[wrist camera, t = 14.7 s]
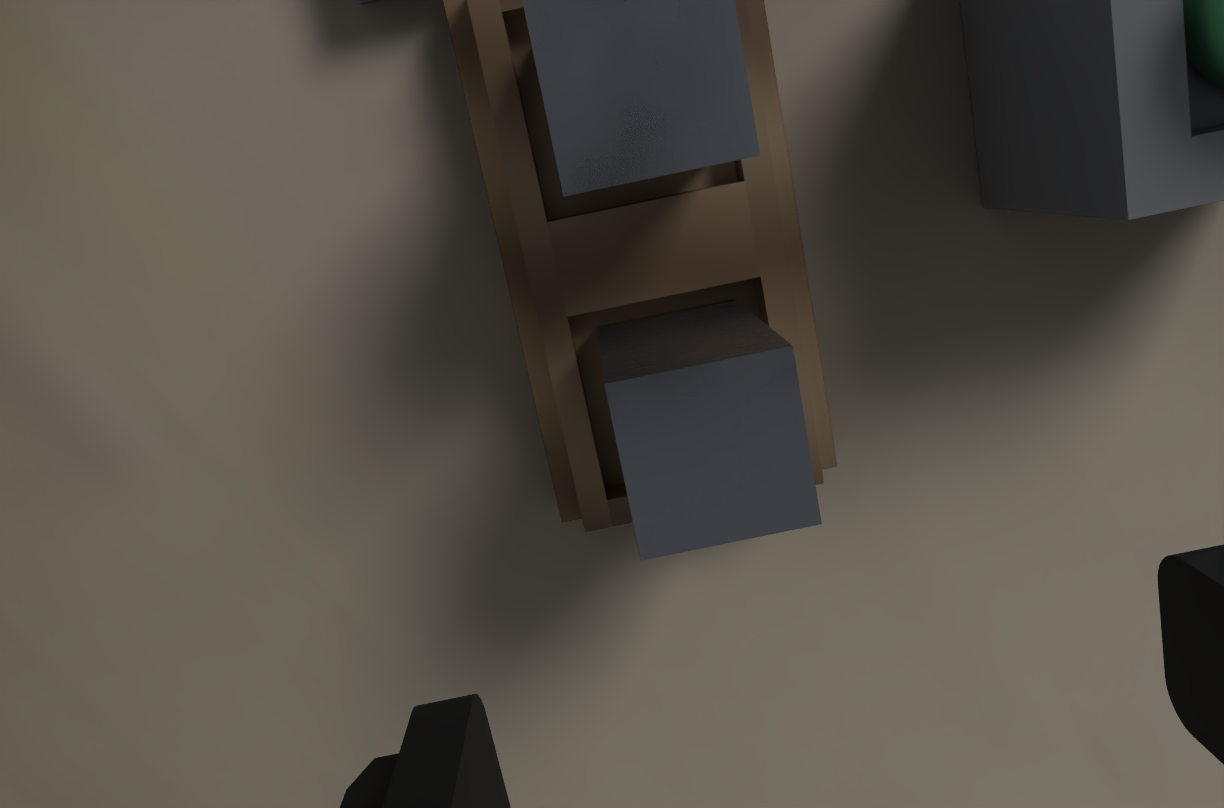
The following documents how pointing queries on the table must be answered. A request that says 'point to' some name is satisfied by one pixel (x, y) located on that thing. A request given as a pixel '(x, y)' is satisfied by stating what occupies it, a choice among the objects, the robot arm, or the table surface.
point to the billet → (707, 427)
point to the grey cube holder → (1091, 108)
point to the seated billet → (640, 87)
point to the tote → (365, 1)
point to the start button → (1205, 37)
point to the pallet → (627, 249)
